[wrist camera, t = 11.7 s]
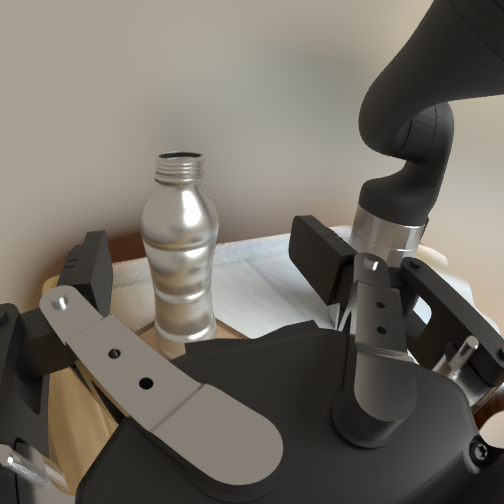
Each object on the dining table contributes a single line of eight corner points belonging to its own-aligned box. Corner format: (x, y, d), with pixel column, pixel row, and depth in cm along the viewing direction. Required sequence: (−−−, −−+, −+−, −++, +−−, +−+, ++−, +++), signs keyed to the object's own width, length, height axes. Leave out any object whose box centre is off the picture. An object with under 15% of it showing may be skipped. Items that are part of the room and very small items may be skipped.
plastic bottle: (224, 334, 32) (235, 151, 22) (204, 379, 26) (202, 167, 16) (173, 320, 33) (165, 146, 23) (147, 360, 27) (118, 161, 18)
